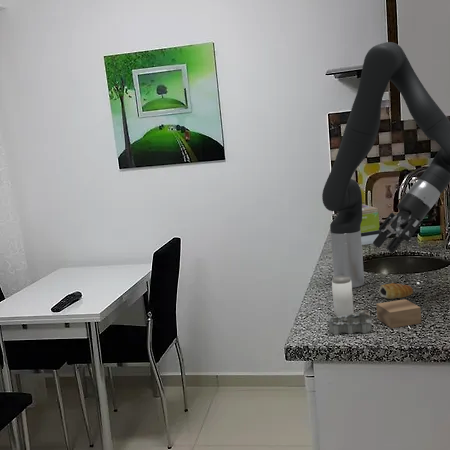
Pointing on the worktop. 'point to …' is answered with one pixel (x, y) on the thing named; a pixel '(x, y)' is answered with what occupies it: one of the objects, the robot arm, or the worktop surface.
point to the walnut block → (398, 313)
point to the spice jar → (342, 295)
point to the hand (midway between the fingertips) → (382, 248)
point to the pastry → (395, 291)
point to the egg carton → (350, 323)
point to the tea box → (369, 224)
